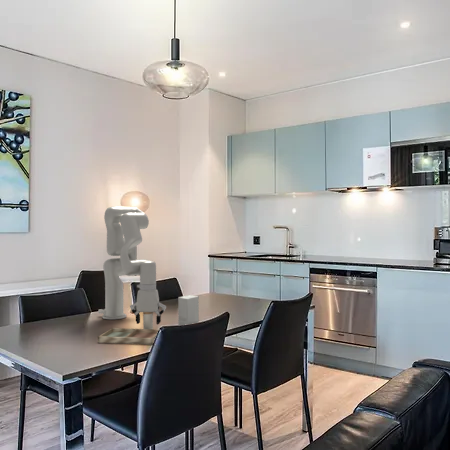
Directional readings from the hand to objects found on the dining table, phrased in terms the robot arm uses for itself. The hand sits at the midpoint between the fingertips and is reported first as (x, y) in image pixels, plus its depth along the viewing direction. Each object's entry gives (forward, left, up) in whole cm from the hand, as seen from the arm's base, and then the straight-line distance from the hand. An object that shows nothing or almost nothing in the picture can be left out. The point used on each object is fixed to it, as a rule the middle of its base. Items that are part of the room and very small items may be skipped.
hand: (148, 323), depth 217 cm
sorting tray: (-3, -15, -4) cm, 16 cm away
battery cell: (0, 0, -4) cm, 4 cm away
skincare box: (+18, +7, -4) cm, 20 cm away
